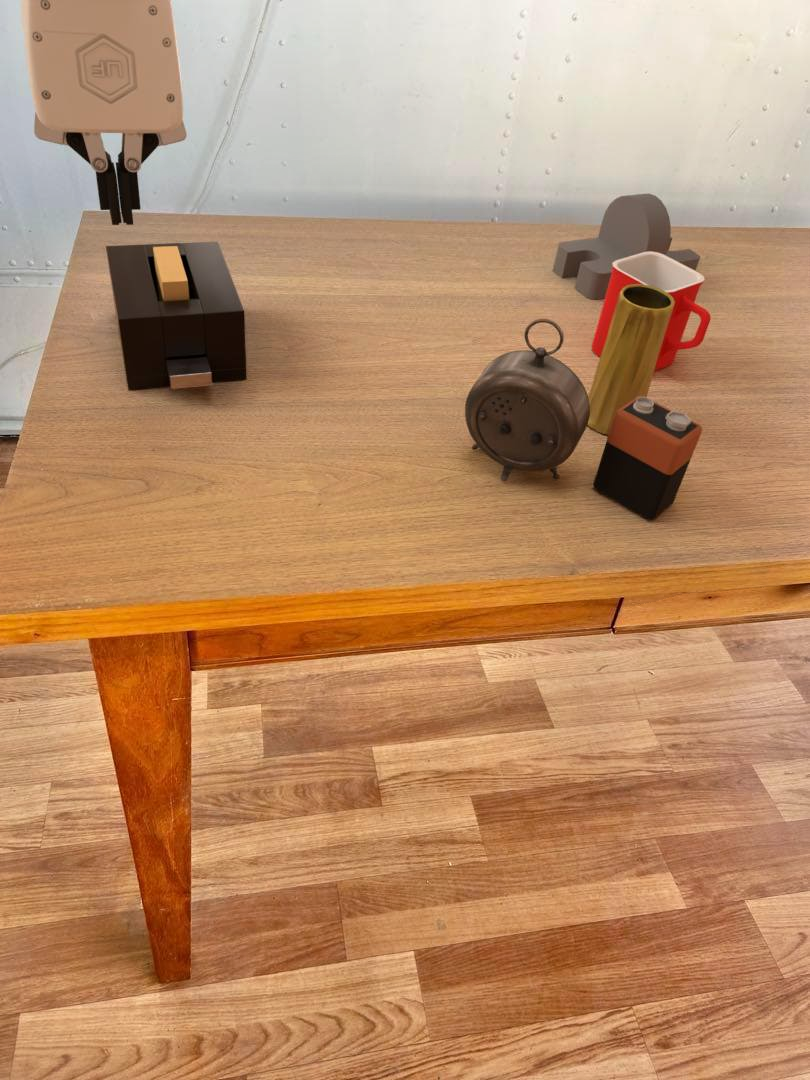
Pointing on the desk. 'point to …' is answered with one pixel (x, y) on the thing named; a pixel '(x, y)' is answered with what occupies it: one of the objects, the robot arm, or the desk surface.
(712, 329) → the desk surface
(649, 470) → the battery
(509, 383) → the alarm clock
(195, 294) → the toaster
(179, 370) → the lever
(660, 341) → the vase
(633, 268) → the mug
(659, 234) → the bracket
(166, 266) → the toast
